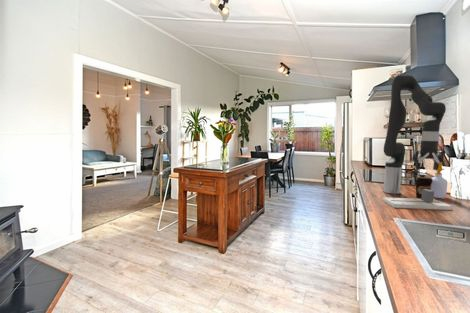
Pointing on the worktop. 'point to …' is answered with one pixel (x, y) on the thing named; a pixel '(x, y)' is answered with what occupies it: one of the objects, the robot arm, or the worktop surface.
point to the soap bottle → (439, 183)
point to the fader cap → (427, 195)
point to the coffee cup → (422, 185)
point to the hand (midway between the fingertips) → (426, 169)
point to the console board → (416, 203)
